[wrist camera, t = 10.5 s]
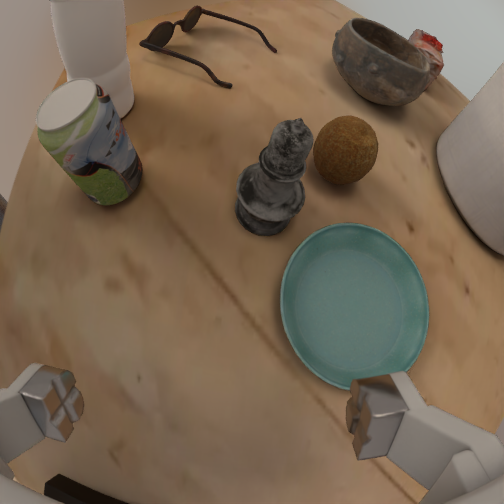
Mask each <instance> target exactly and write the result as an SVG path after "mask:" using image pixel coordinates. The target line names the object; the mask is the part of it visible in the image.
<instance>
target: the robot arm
mask: <svg viewBox="0 0 504 504" xmlns="http://www.w3.org/2000/svg"><path fill="white" fill-rule="evenodd" d="M75 384H76V379H75V377H74V375H73V373H72V372H71V371H69V370H65V369H61V368H56V367H52V366H48V365H42V364H38V363H32V364H30V365H29V366H28V367H27V368H26V369H25V370H24V371H23V372H22V373H21V374H20V375H19V376H18V378H17V379H16V380H15V381H14V382H13V383H12V384H11V385H10V386H9V387H8V388H7V389H6V388H3V389H0V504H64V503H62V502H59V501H57V500H54V499H52V498H49V497H47V496H45V495H43V494H40V493H38V492H36V491H34V490H32V489H30V488H28V487H26V486H24V485H22V484H20V483H18V482H16V481H14V480H13V478H14V476H15V475H14V472H13V471H12V470H11V468H10V467H9V466H8V465H7V463H9V462H10V461H12V460H13V459H15V458H16V457H18V456H19V455H21V454H22V453H24V452H25V451H27V450H28V449H30V448H31V447H33V446H34V445H36V444H37V443H39V442H40V441H42V440H43V439H45V437H48V438H51V439H54V440H57V441H61V442H64V443H66V441H67V440H68V438H69V436H70V435H71V433H72V431H73V430H74V427H73V423H74V422H76V421H78V420H79V419H80V418H81V416H82V414H83V410H84V400H83V396H82V394H81V392H80V391H79V390H78V389H77V388H76V387H75ZM350 392H351V395H352V397H351V398H350V399H349V400H348V401H347V406H346V424H347V428H348V431H349V432H350V433H351V434H353V435H354V439H353V442H352V445H353V448H354V451H355V454H356V457H357V461H358V460H365V459H371V458H377V457H382V456H387V458H388V459H389V460H391V461H392V462H393V463H394V464H396V465H397V466H398V467H399V468H401V469H402V470H403V471H404V472H406V473H407V474H408V475H409V476H411V477H412V478H413V479H414V480H416V481H417V482H418V483H420V484H421V485H422V486H423V487H425V488H426V489H427V490H429V491H428V492H427V493H426V495H425V496H424V497H423V499H422V500H421V501H420V502H419V504H504V445H503V444H502V442H501V441H500V440H499V438H498V437H497V435H495V434H493V433H490V432H488V431H486V430H484V429H481V428H479V427H477V426H475V425H473V424H471V423H468V422H466V421H464V420H462V419H460V418H458V417H456V416H454V415H452V414H449V413H447V412H445V411H443V410H441V409H439V408H437V407H435V406H433V405H430V406H427V404H426V403H425V401H424V400H423V398H422V396H421V395H420V393H419V392H418V390H417V389H416V387H415V385H414V384H413V382H412V381H411V379H410V378H409V376H408V375H407V373H406V372H404V371H398V372H393V373H387V374H383V375H377V376H370V377H362V378H355V379H353V380H352V382H351V386H350Z"/></svg>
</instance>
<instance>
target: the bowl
mask: <svg viewBox="0 0 504 504" xmlns="http://www.w3.org/2000/svg"><path fill="white" fill-rule="evenodd" d="M335 37H336V38H335V41H334V43H333V48H332V55H333V59H334V62H335V64H336V66H337V68H338V70H339V72H340V74H341V76H342V77H343V78H344V80H345V81H347V82H348V84H350V85H351V87H352V88H353V89H354V90H355V91H356V92H357V93H358V94H360V95H361V96H362V97H364V98H365V99H367V100H369V101H372V102H374V103H378V104H382V105H391V106H399V105H405V104H408V103H410V102H412V101H414V100H415V99H417V98H418V97H419V96H420V95H421V93H422V92H423V91H424V89H425V87H426V85H427V84H428V83H429V82H430V77H429V74H430V65H429V62H428V60H427V58H426V57H425V56H424V54H423V53H422V52H421V51H420V50H419V49H418V48H417V47H415V46H414V45H413V44H412V43H411V42H409V41H408V40H407V39H405V38H404V37H402V36H400V35H399V34H397V33H396V32H394V31H392V30H390V29H389V28H387V27H385V26H384V25H381V24H379V23H377V22H374V21H371V20H368V19H363V18H353V19H351V20H349V21H348V22H347V23H346V24H345V25H344V26H343V27H342V29H341V30H338V31H337V32H336V34H335Z"/></svg>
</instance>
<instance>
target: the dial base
mask: <svg viewBox="0 0 504 504" xmlns="http://www.w3.org/2000/svg"><path fill="white" fill-rule="evenodd" d="M44 495H45V496H47V497H49V498H52V499H54V500H57V501H59V502H62V503H64V504H128V503H125V502H123V501H120V500H117V499H115V498H112V497H109V496H107V495H104V494H102V493H100V492H97V491H95V490H92V489H90V488H88V487H86V486H83V485H81V484H79V483H77V482H75V481H73V480H71V479H69V478H67V477H65V476H63V475H61V474H58V475H56V476H55V477H53V478H52V479H50V480H49V481H47V482H46V483H45V490H44Z"/></svg>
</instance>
